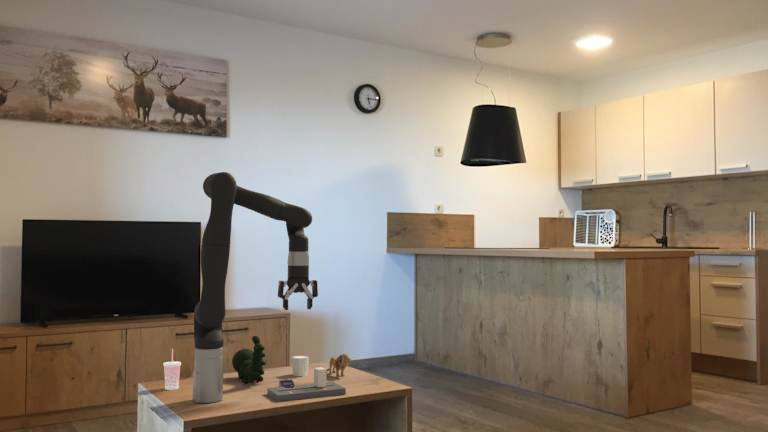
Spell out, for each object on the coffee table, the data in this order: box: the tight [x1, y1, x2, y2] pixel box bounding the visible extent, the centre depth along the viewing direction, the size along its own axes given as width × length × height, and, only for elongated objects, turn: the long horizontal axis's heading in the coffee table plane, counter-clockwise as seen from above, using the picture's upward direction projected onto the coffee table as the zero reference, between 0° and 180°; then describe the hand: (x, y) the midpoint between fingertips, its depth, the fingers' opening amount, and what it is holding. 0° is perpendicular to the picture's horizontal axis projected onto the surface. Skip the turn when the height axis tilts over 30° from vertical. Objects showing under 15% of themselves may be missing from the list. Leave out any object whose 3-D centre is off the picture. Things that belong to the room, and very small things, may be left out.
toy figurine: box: [231, 335, 266, 384], centre depth 250 cm, size 9×19×25 cm
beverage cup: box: [162, 348, 182, 391], centre depth 236 cm, size 6×6×14 cm
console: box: [266, 381, 347, 403], centre depth 228 cm, size 24×12×2 cm, turn 117°
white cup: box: [291, 355, 310, 377], centre depth 261 cm, size 7×7×7 cm
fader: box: [313, 366, 327, 387], centre depth 230 cm, size 3×4×8 cm
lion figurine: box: [326, 353, 352, 378], centre depth 261 cm, size 15×5×9 cm, turn 38°
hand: (297, 309), depth 238 cm, fingers open, 8 cm apart
